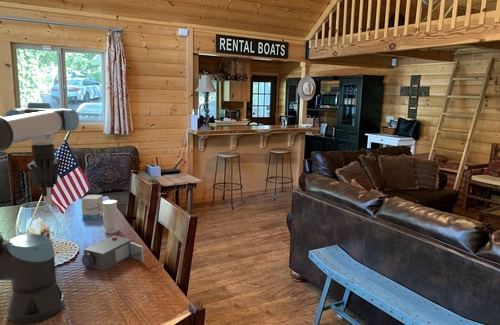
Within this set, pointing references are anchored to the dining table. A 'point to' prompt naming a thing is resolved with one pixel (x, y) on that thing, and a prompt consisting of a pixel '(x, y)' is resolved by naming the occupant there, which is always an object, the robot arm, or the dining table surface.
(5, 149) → the robot arm
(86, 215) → the ink box
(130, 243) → the side door
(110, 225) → the candle
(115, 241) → the camera body
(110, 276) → the dining table surface
